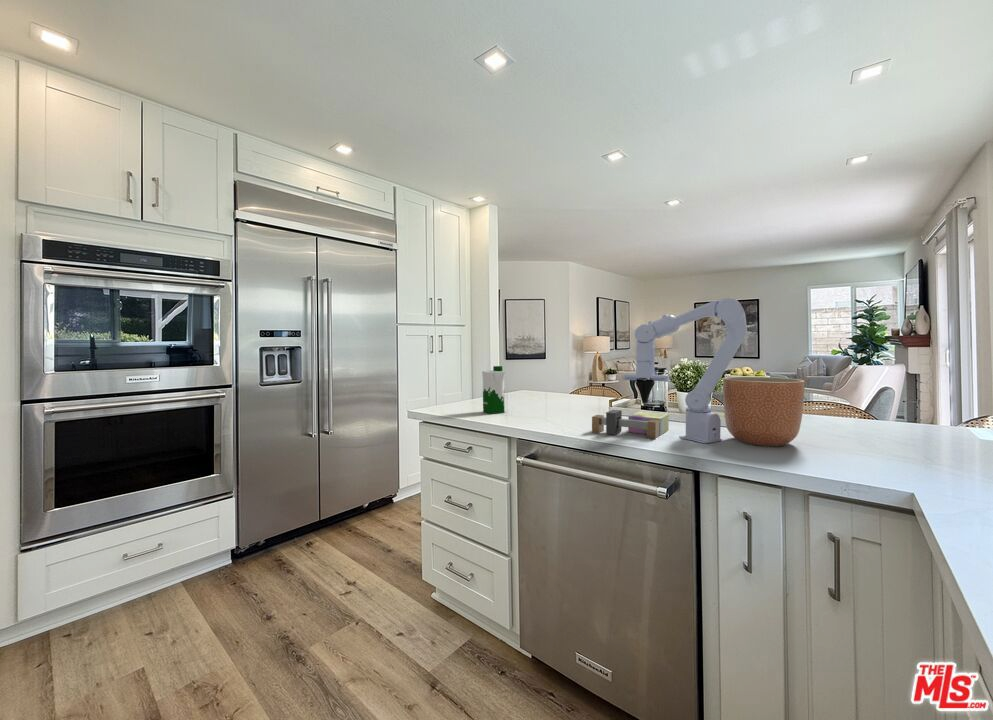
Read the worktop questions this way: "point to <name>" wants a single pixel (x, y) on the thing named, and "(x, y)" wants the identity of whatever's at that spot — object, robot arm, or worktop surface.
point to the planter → (763, 409)
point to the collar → (613, 422)
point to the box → (647, 417)
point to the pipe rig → (627, 425)
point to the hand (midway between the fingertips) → (645, 402)
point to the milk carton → (493, 390)
